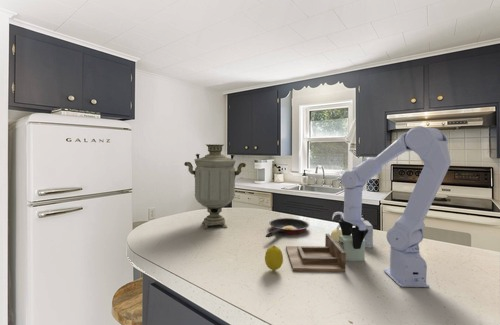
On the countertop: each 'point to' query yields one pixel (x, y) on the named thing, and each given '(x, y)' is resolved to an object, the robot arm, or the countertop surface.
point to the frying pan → (287, 226)
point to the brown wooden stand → (318, 257)
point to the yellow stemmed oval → (336, 230)
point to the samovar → (214, 182)
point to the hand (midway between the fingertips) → (351, 244)
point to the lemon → (273, 258)
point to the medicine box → (368, 235)
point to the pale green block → (352, 253)
